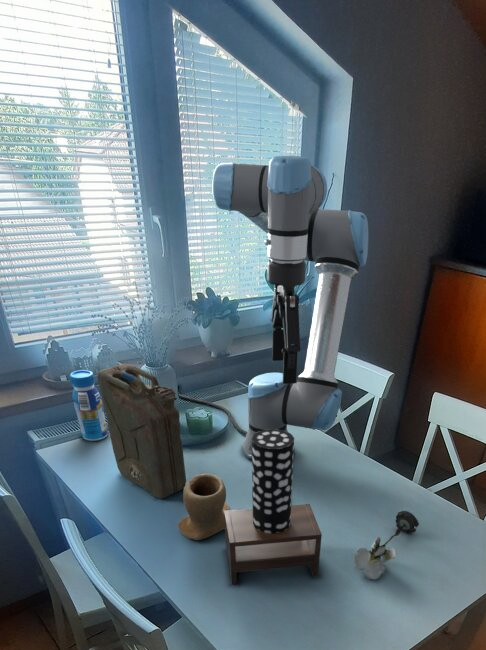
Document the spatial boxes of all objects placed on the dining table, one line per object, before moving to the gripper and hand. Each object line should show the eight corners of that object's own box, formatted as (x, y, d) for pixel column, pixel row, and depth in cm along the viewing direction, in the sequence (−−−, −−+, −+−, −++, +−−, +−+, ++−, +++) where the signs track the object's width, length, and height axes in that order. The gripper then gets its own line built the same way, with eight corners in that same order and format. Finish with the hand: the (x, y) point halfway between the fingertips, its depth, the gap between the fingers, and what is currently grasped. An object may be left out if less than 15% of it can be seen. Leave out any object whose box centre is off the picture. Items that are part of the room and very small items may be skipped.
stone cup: (199, 551, 125) (194, 499, 115) (172, 528, 132) (165, 477, 121) (248, 527, 133) (247, 476, 122) (220, 507, 139) (217, 457, 129)
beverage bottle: (76, 436, 167) (60, 374, 154) (97, 427, 172) (83, 366, 159) (93, 444, 164) (78, 381, 150) (114, 434, 169) (101, 373, 155)
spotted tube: (286, 535, 111) (290, 451, 97) (248, 530, 112) (247, 446, 98) (293, 514, 117) (297, 431, 103) (257, 509, 118) (257, 427, 104)
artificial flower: (421, 541, 132) (437, 517, 123) (367, 592, 121) (381, 569, 113) (394, 520, 134) (407, 495, 126) (339, 567, 124) (350, 543, 115)
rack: (226, 551, 125) (223, 510, 117) (306, 544, 128) (309, 503, 120) (231, 584, 117) (229, 542, 108) (317, 575, 119) (321, 534, 111)
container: (114, 473, 151) (91, 369, 131) (142, 461, 157) (125, 359, 136) (162, 503, 140) (146, 395, 120) (191, 489, 145) (180, 383, 125)
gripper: (258, 247, 108) (258, 352, 123) (279, 275, 90) (276, 394, 105) (293, 246, 109) (289, 350, 124) (320, 274, 91) (312, 392, 106)
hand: (283, 371), depth 114 cm, fingers open, 13 cm apart
